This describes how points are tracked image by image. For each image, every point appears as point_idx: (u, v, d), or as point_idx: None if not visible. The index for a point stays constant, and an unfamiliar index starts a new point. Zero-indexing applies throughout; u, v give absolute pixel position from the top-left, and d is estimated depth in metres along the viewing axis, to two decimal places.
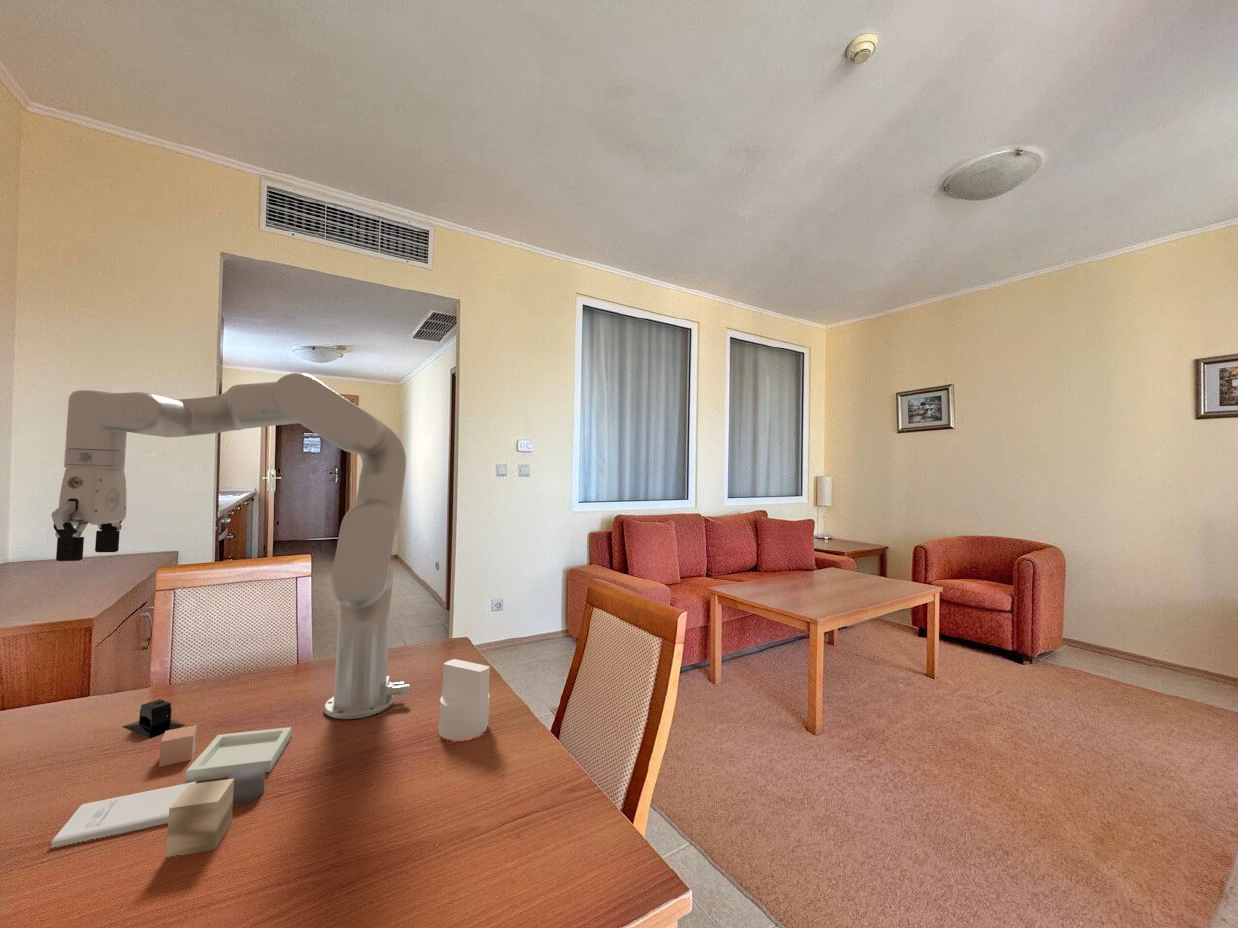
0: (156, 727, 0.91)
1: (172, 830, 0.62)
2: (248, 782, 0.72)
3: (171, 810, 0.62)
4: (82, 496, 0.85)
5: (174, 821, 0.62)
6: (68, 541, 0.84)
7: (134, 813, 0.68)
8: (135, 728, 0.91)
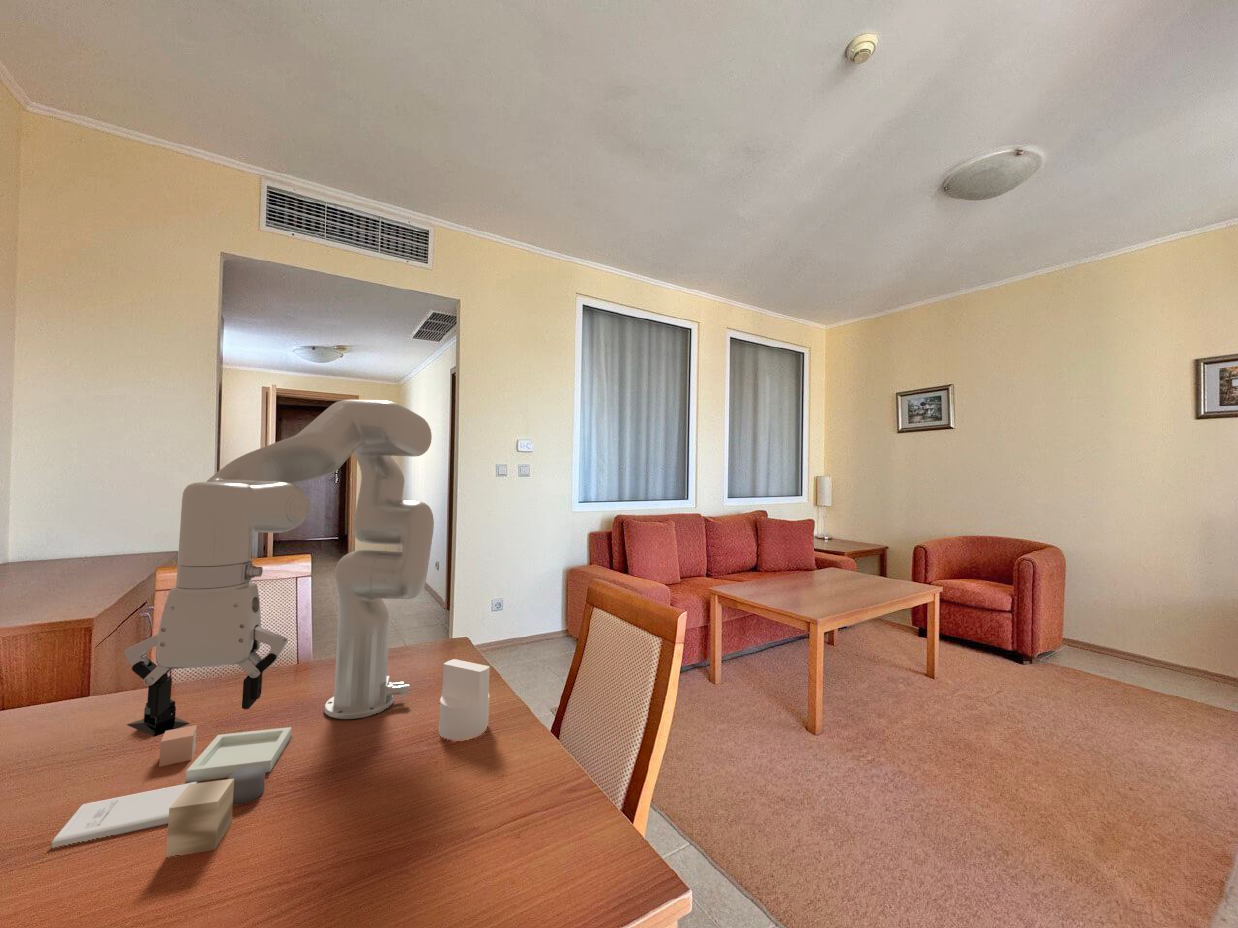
0: (161, 725, 0.91)
1: (172, 830, 0.62)
2: (248, 782, 0.72)
3: (171, 810, 0.62)
4: (259, 619, 0.68)
5: (174, 821, 0.62)
6: (260, 677, 0.67)
7: (134, 813, 0.68)
8: (140, 726, 0.91)
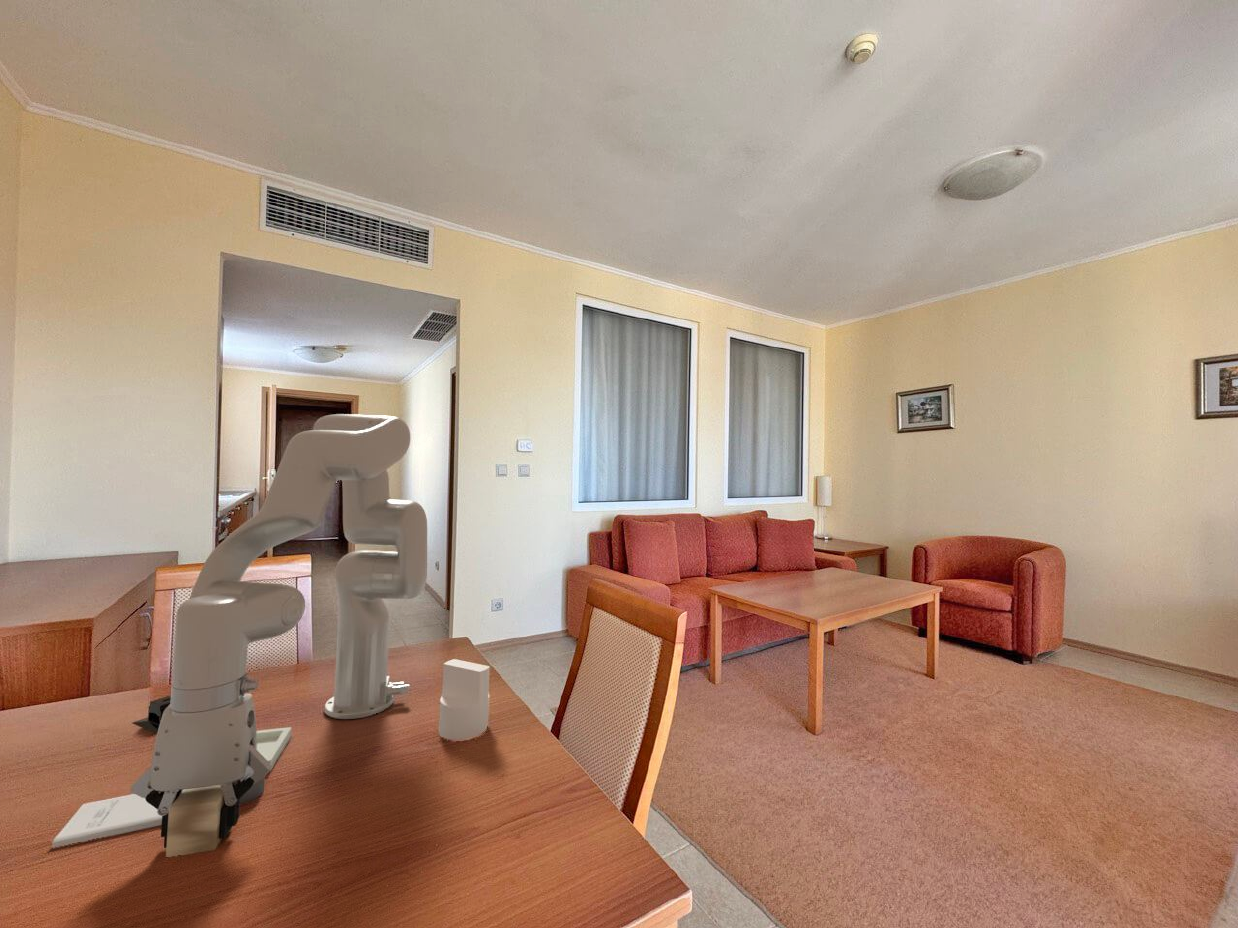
0: None
1: (172, 830, 0.62)
2: None
3: (171, 810, 0.62)
4: (255, 731, 0.68)
5: (174, 821, 0.62)
6: (237, 802, 0.66)
7: (135, 813, 0.68)
8: (144, 724, 0.92)
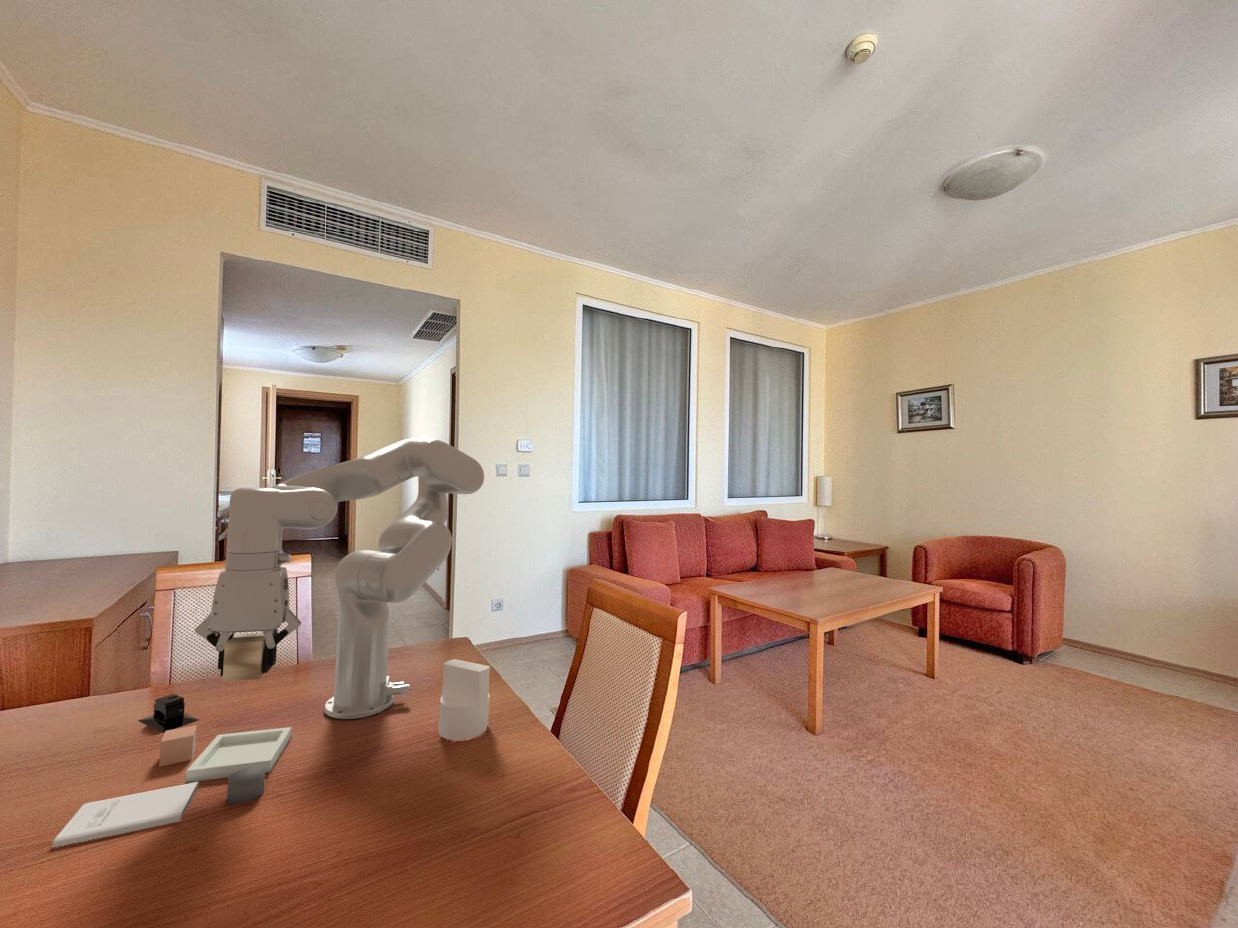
0: (170, 721, 0.93)
1: (227, 661, 0.80)
2: (249, 782, 0.72)
3: (226, 645, 0.80)
4: (288, 596, 0.86)
5: (228, 654, 0.80)
6: (275, 649, 0.85)
7: (135, 813, 0.68)
8: (150, 722, 0.93)
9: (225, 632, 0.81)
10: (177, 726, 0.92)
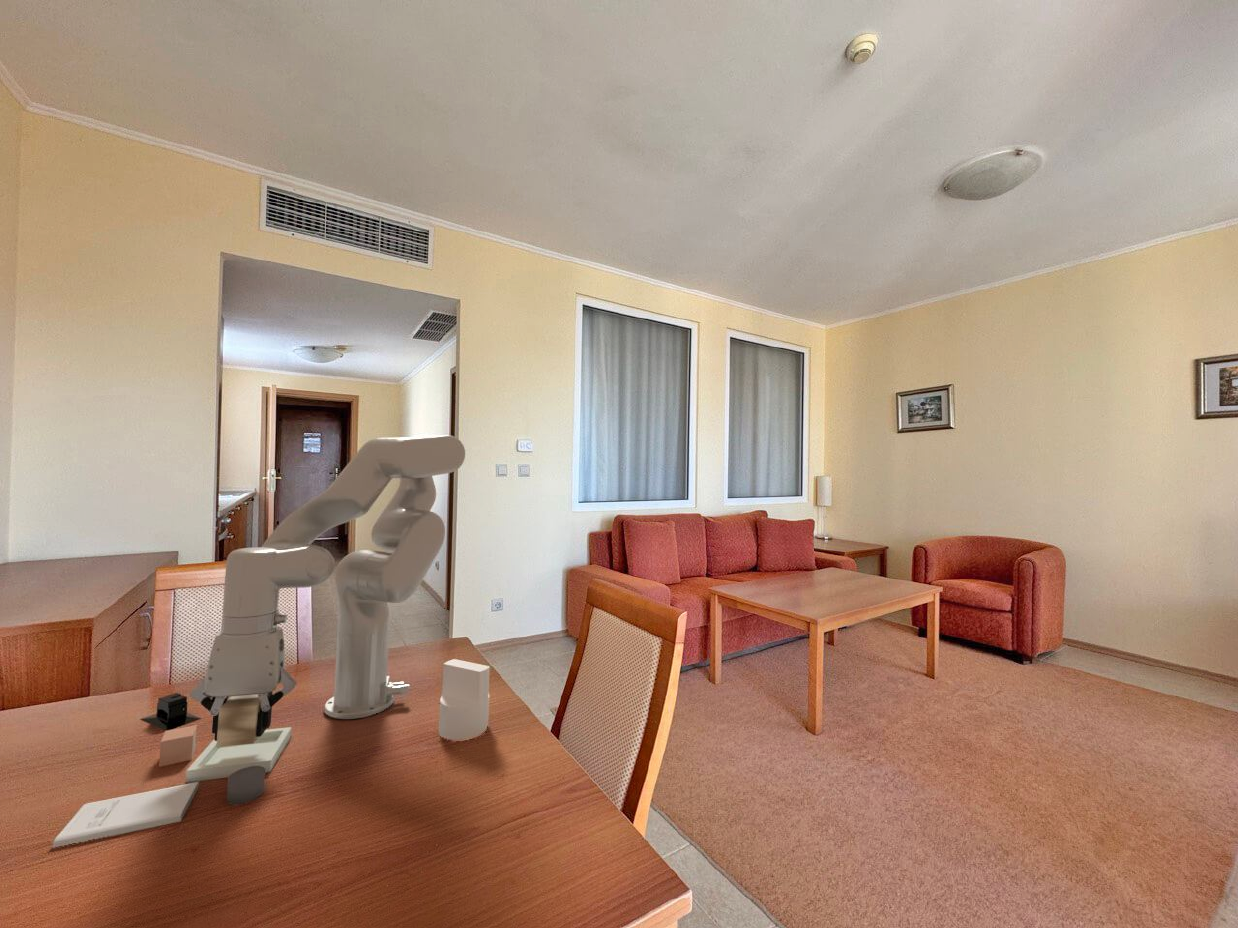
0: (173, 720, 0.93)
1: (221, 726, 0.80)
2: (249, 782, 0.72)
3: (221, 710, 0.80)
4: (284, 656, 0.86)
5: (223, 719, 0.80)
6: (270, 710, 0.84)
7: (135, 813, 0.68)
8: (153, 721, 0.94)
9: (220, 696, 0.81)
10: (180, 725, 0.93)
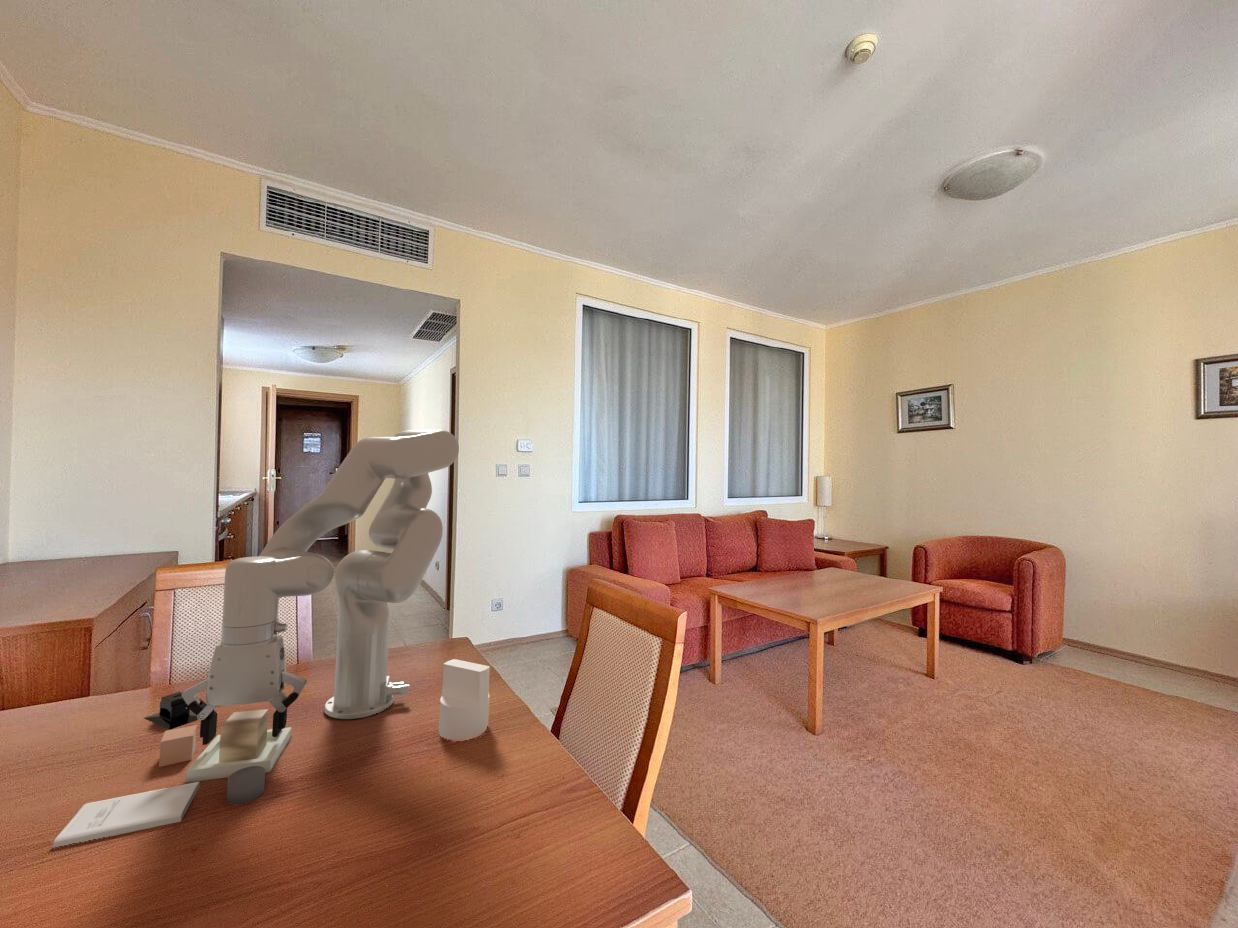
0: (176, 719, 0.94)
1: (223, 743, 0.80)
2: (249, 782, 0.72)
3: (222, 728, 0.80)
4: (284, 664, 0.86)
5: (224, 736, 0.80)
6: (285, 711, 0.85)
7: (136, 813, 0.68)
8: (156, 719, 0.94)
9: None
10: (183, 724, 0.93)
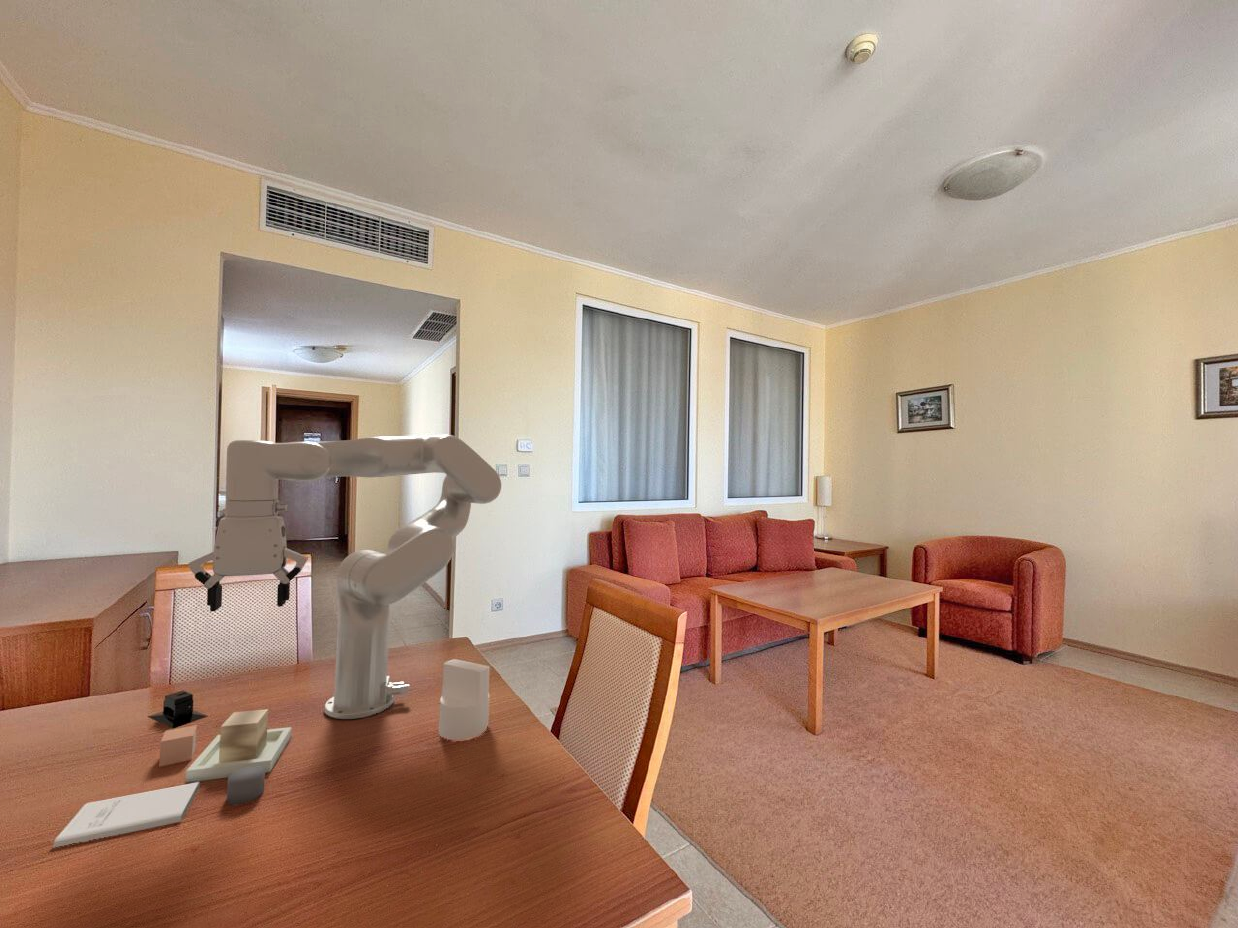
0: (179, 717, 0.94)
1: (223, 743, 0.80)
2: (249, 782, 0.72)
3: (222, 728, 0.80)
4: (285, 543, 0.92)
5: (224, 736, 0.80)
6: (288, 585, 0.91)
7: (136, 813, 0.68)
8: (159, 718, 0.95)
9: (227, 575, 0.86)
10: (186, 722, 0.94)
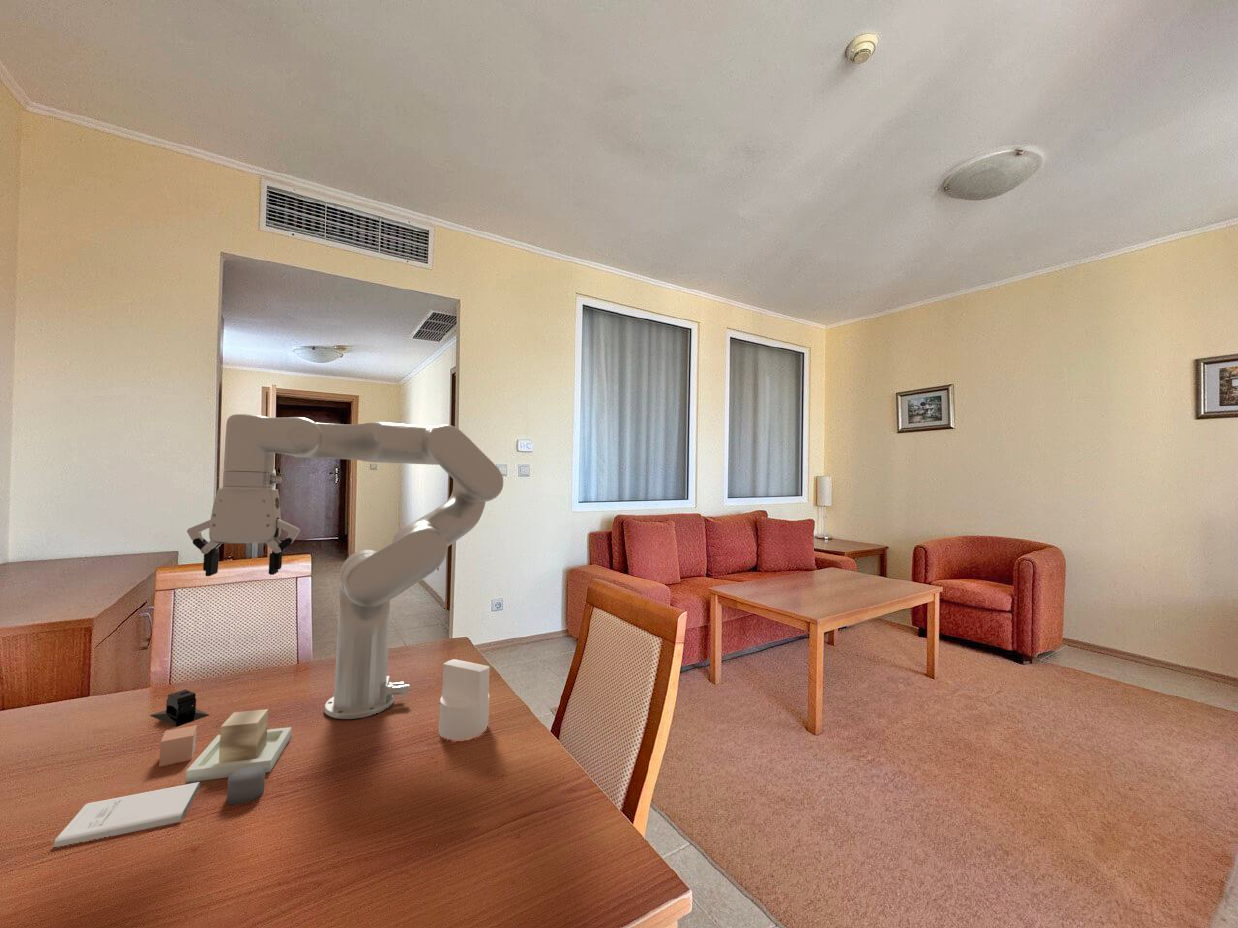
0: (182, 716, 0.95)
1: (223, 743, 0.80)
2: (249, 782, 0.72)
3: (222, 728, 0.80)
4: (279, 514, 0.96)
5: (224, 736, 0.80)
6: (281, 555, 0.95)
7: (136, 813, 0.68)
8: (162, 717, 0.95)
9: (223, 542, 0.90)
10: (189, 721, 0.94)
